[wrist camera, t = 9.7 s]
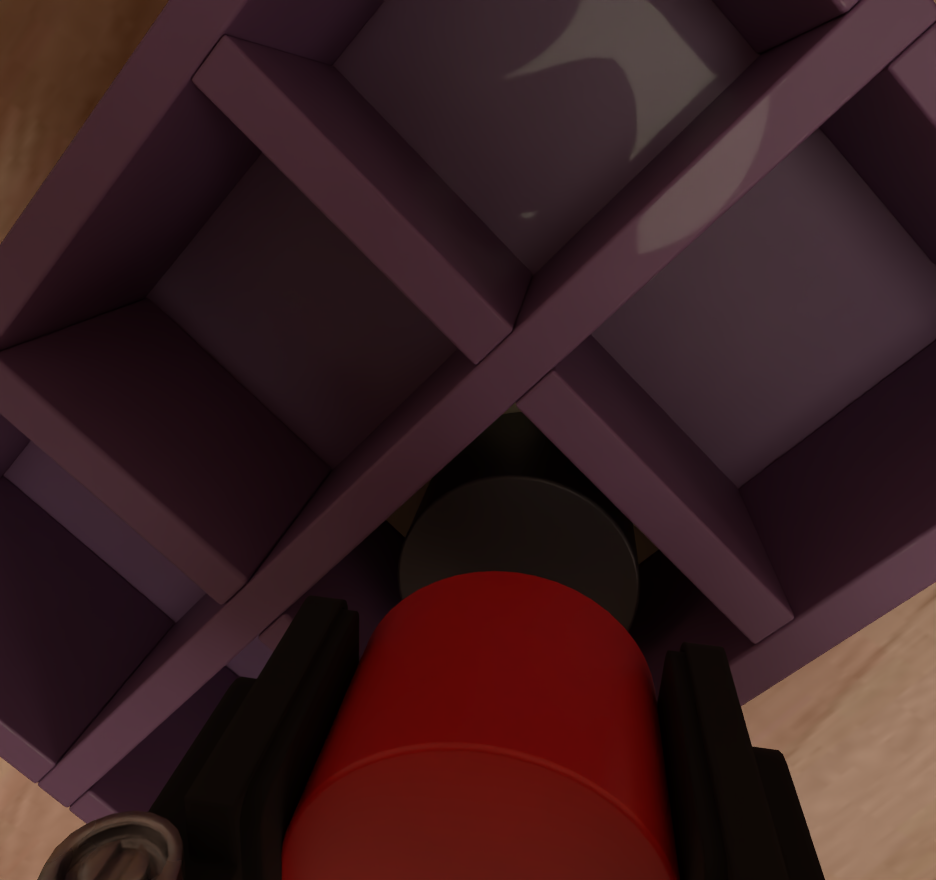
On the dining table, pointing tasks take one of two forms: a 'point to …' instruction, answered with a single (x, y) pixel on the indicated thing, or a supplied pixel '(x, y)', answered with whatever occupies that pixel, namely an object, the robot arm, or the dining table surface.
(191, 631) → the token box
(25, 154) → the dining table surface
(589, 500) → the black token
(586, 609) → the cylinder
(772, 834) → the robot arm
